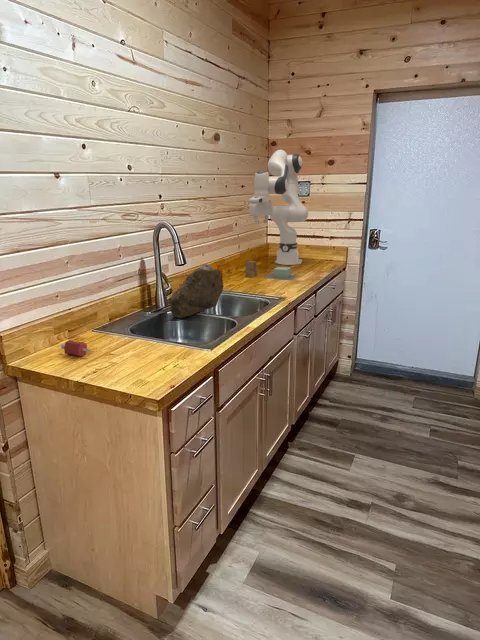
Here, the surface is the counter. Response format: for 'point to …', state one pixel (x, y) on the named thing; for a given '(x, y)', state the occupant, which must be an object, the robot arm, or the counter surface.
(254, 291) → the counter surface
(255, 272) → the walnut block
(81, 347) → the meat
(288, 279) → the mat
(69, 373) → the counter surface
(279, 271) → the sage brick
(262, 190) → the robot arm
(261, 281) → the counter surface
